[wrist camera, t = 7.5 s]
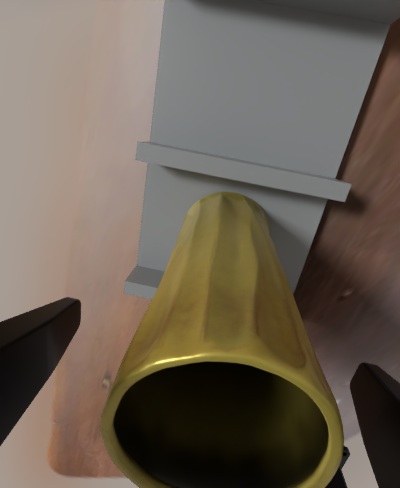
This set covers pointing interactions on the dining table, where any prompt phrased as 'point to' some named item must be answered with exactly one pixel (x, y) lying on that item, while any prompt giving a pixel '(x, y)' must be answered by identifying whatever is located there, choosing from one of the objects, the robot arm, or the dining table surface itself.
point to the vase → (223, 368)
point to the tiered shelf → (254, 116)
